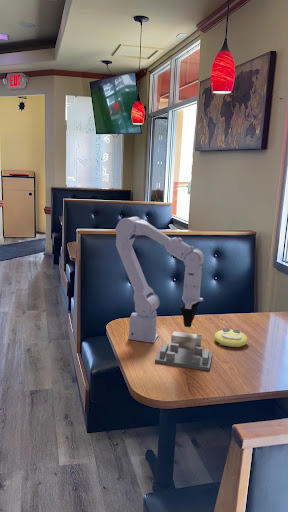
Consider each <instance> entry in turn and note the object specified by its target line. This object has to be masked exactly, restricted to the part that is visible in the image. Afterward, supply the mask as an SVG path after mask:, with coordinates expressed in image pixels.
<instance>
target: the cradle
mask: <svg viewBox="0 0 288 512" xmlns="http://www.w3.org/2000/svg"><path fill="white" fill-rule="evenodd" d="M169 344H170V346H169ZM178 346H179V344H175V343H171V342H170V343H166V342H163V345H161V347H160V349H159V351H158V353H157V355H156V357H155V359H154V363H156V364H161V365H167V366H168V365H169V366H175V367H182V368H187V369H196V370H201V371H208V372H210V368H211V363H212V359H213V352H210V349H208V348H204V351H203V346H201V347H196V346H195V349H188V348H181V347H178Z"/></svg>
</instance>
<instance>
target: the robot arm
mask: <svg viewBox="0 0 288 512" xmlns="http://www.w3.org/2000/svg"><path fill="white" fill-rule="evenodd" d="M115 232H116V235H115V237H116V239H115V247H116V250H117V253H118V254H119V257H120V259H121V262H122V264H123V266H124V269H125V271H126V275H127V277H128V279H129V282H130V284H131V287H132V289H133V297H132V298H133V301H134V311H135V312H132V313H131V314H130V317H129V324H128V325H129V327H128V329H129V330H128V340H131V341H138V342H139V341H140V342H146V343H153V344H154V343H155V342H156V340H157V338H158V336H159V333H157V321H158V314H157V313H158V312H157V309H158V308H159V306H160V304H161V303H160V298H159V296H158V295H157V294H155V292H154V290H153V288H152V287H150V286H149V284H148V282H147V280H146V277H145V275H144V273H143V269H142V267H141V265H140V262H139V260H138V257H137V254H136V253H135V250H134V248H133V247H134V246H133V243H134V241H135V240H136V238H137V236H146V237H148V238H150V239H152V240H153V241H155V242H157V243H159V244H160V245H163V246H164V247H165V249H166V252H167V253H168V254H170V255H172V256H173V257H175V258H177V259H178V260H179V261H182V262H183V265H184V266H185V267H184V269H185V271H184V277H183V287H182V289H183V291H182V297H181V299H182V301H183V302H184V304H185V305H182V304H181V305H180V306H179V308H180V311H181V314H182V319H183V325H184V327H186V328H191V327H192V325H193V321H194V319H195V317H196V312H197V311H198V306H199V304H200V303H201V302H203V301H204V298H203V297H200V296H201V285H202V276H203V275H202V274H203V272H202V270H203V265H202V264H203V263H204V261H205V255H204V252H203V251H202V250H201V249H200V248H195V246H193V245H189V244H188V243H186V242H184V241H183V238H181V237H176V236H175V237H169V236H168V235H167V234H165V233H164V232H162V231H160V230H159V229H158V228H156V227H155V226H154V225H152V224H151V223H149V222H148V221H146V220H144V219H142V218H141V217H139V216H137V215H136V216H135V215H134V216H131V217H124V218H121V219H119V221H118V223H117V224H116V227H115Z"/></svg>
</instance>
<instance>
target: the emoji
mask: <svg viewBox="0 0 288 512" xmlns="http://www.w3.org/2000/svg"><path fill="white" fill-rule="evenodd" d="M213 338H214V340H215V341H216V342H217V343H219V345H220V346H225V347H230V348H241V347H242V346H245V345H247V343H248V342H249V338H248V336H247V335H246V334H245V333H243V332H241V331H240V330H239V329H229V328H222V329H221V330H218V331H216V332H215V333H214V335H213Z"/></svg>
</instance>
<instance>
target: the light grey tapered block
mask: <svg viewBox="0 0 288 512" xmlns="http://www.w3.org/2000/svg"><path fill="white" fill-rule="evenodd" d="M171 343H175V344H179V346H178V348H184V349H191V350H194V349H195V346H196V347H202V334H198V333H197V334H195V333H189V332H183V331H182V332H181V331H174V330H173V332H172V334H171V338H170V344H171Z"/></svg>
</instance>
